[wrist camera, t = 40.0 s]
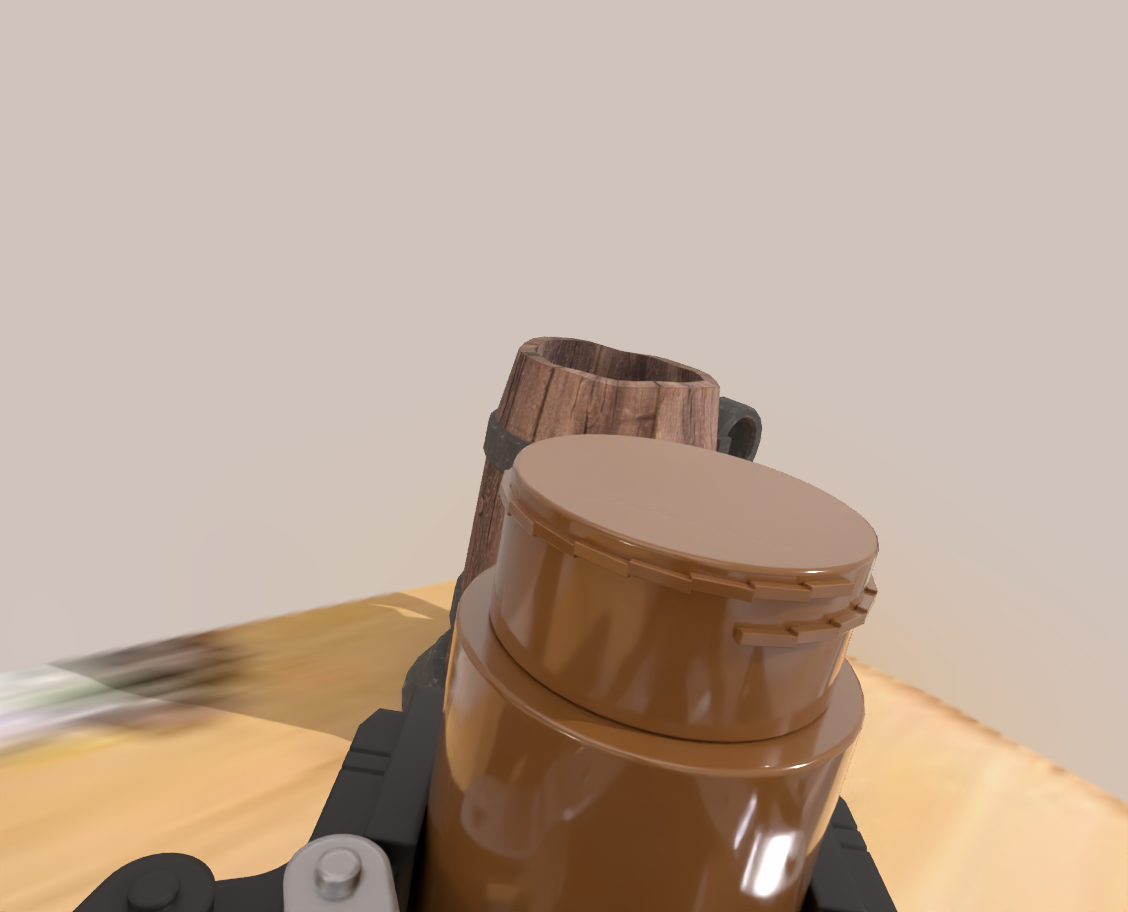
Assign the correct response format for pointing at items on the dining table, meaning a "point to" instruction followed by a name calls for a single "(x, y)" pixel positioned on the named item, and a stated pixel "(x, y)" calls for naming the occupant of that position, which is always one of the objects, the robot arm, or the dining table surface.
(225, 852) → the dining table surface
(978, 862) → the dining table surface
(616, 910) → the jar
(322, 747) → the dining table surface
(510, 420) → the tankard
